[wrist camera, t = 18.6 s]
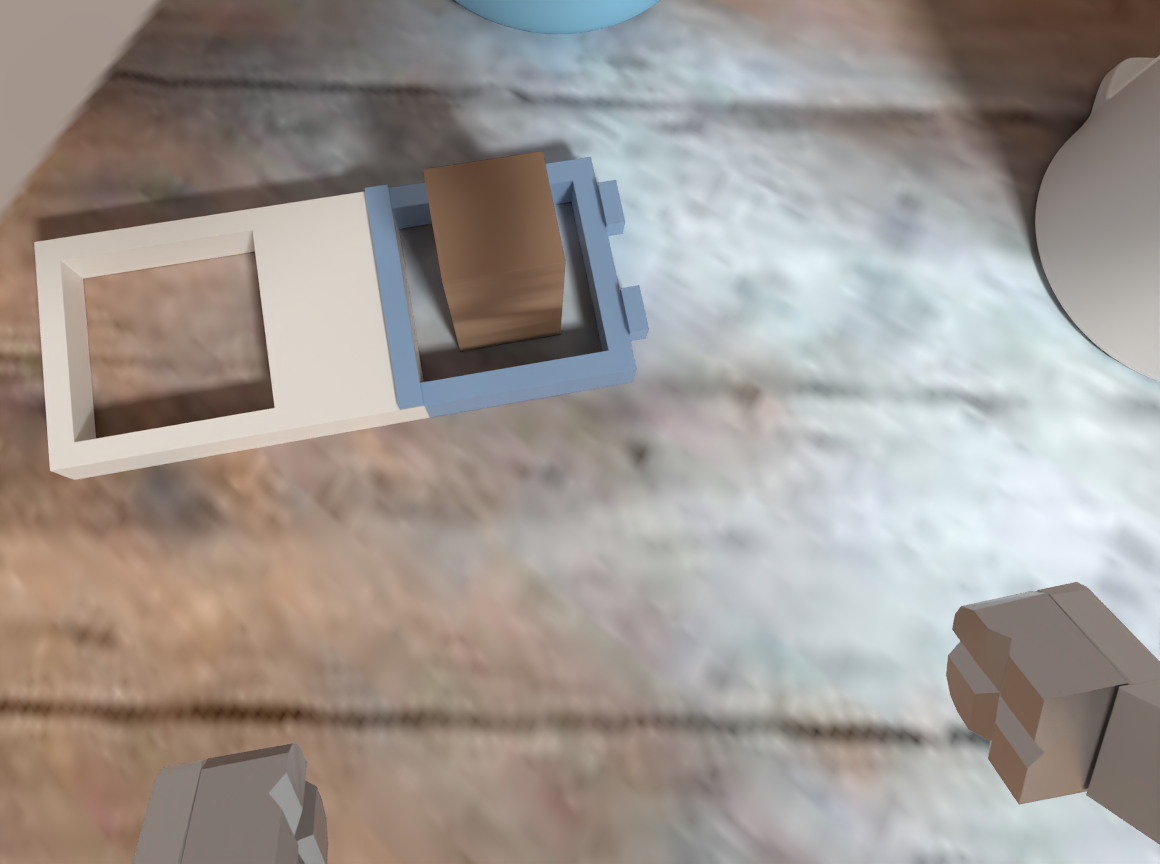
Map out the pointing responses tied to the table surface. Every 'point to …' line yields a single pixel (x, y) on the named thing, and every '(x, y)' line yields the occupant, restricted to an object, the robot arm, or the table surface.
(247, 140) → the table surface
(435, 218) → the walnut block
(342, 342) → the two-window frame tray
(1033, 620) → the robot arm
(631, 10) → the sugar bowl
